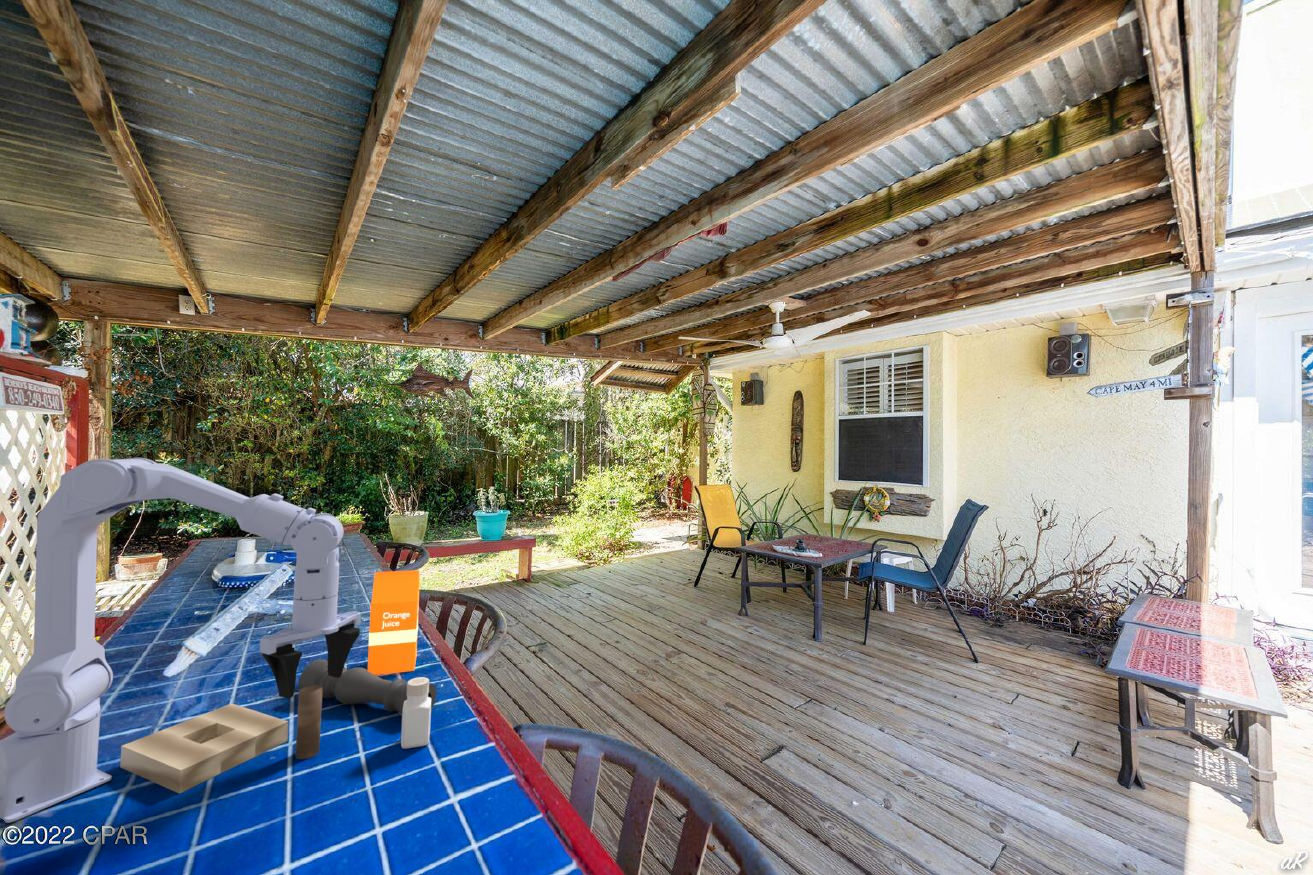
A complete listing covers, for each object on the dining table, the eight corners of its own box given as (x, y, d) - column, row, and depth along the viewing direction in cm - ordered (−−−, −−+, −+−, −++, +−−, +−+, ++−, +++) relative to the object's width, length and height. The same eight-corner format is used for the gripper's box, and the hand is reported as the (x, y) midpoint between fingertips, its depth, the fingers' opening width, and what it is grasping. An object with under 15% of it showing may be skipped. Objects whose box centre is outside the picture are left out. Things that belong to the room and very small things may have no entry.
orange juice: (414, 670, 110) (419, 574, 110) (366, 676, 107) (371, 576, 107) (416, 656, 117) (420, 566, 118) (371, 661, 114) (376, 568, 114)
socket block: (179, 793, 69) (180, 770, 70) (120, 767, 75) (121, 745, 75) (287, 740, 82) (288, 721, 83) (230, 721, 88) (231, 703, 88)
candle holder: (302, 662, 96) (416, 685, 89) (331, 656, 102) (440, 678, 95) (294, 698, 95) (409, 725, 88) (324, 691, 100) (434, 715, 93)
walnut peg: (304, 761, 77) (307, 695, 78) (290, 756, 79) (294, 691, 79) (324, 750, 80) (327, 687, 81) (310, 746, 81) (313, 683, 82)
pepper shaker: (402, 737, 85) (405, 677, 85) (429, 733, 86) (432, 674, 86) (400, 750, 81) (403, 688, 81) (428, 746, 82) (431, 684, 82)
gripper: (286, 611, 72) (281, 712, 72) (376, 587, 86) (372, 672, 85) (252, 605, 75) (246, 702, 74) (344, 582, 88) (340, 664, 88)
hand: (311, 685), depth 80 cm, fingers open, 7 cm apart
